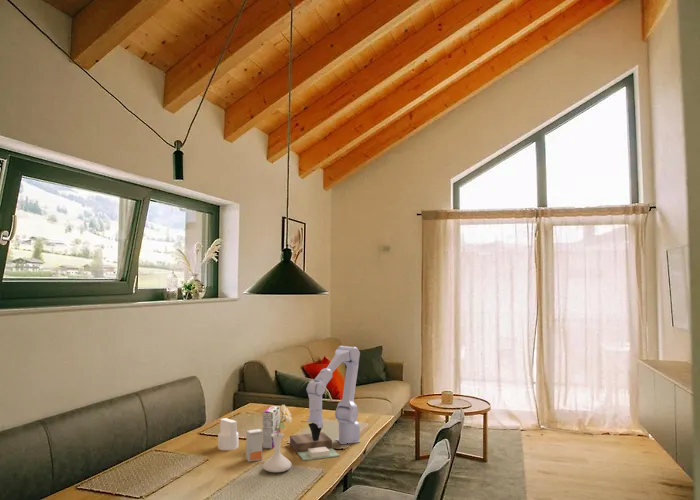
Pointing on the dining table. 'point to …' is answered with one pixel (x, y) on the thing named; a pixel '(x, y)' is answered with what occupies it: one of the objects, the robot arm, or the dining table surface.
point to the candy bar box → (270, 425)
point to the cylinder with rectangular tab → (228, 435)
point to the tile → (318, 452)
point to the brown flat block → (309, 442)
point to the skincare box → (254, 444)
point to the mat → (306, 456)
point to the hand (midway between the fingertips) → (315, 440)
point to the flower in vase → (277, 459)
